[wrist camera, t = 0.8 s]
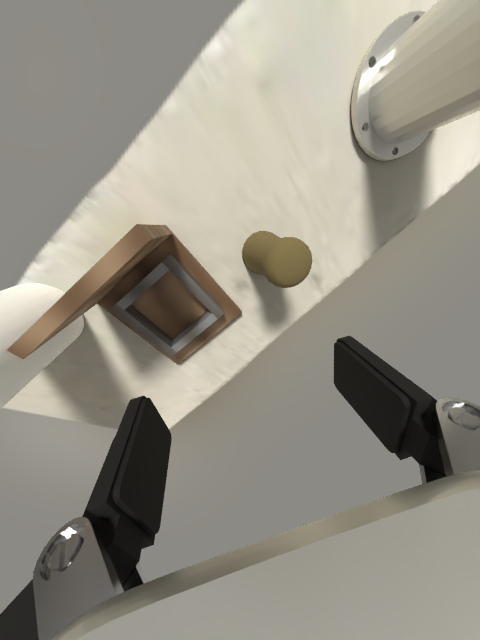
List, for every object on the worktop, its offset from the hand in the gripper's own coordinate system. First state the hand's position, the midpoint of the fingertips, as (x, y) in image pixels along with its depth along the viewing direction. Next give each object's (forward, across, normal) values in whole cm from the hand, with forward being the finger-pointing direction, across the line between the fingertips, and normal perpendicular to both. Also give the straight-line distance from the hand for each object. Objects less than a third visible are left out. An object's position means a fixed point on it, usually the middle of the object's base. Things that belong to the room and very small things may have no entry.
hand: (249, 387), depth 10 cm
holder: (+22, +7, +2) cm, 24 cm away
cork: (+23, -8, -2) cm, 24 cm away
